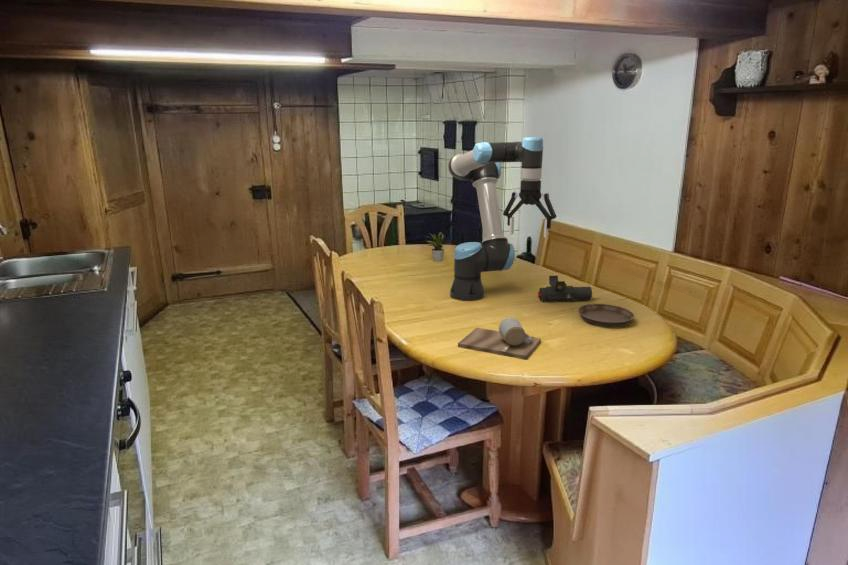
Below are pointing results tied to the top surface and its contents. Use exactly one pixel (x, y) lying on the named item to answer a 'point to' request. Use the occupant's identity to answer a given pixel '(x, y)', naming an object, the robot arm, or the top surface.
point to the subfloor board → (497, 344)
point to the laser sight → (563, 291)
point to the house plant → (437, 247)
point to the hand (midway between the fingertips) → (528, 235)
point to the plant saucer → (605, 315)
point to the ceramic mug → (513, 332)
